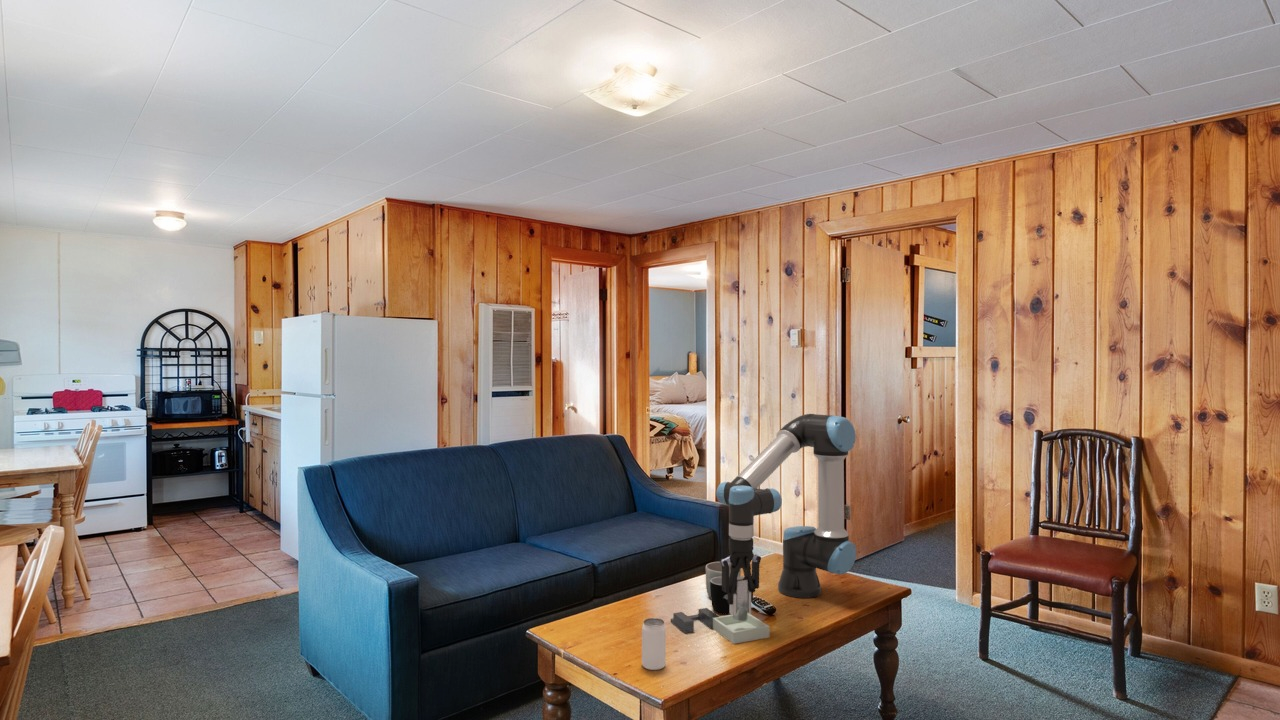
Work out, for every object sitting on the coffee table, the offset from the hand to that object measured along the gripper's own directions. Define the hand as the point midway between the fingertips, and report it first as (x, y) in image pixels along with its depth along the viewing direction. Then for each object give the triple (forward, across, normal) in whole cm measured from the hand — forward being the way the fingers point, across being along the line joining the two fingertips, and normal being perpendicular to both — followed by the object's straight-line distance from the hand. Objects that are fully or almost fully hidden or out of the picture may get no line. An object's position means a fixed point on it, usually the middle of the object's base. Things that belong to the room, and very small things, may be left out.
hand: (740, 613), depth 210 cm
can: (+6, +34, +10) cm, 36 cm away
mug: (+6, -6, -18) cm, 20 cm away
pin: (+1, 0, 0) cm, 1 cm away
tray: (+6, 0, 0) cm, 6 cm away
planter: (+6, -11, -29) cm, 32 cm away
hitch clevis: (+6, +10, -10) cm, 15 cm away
